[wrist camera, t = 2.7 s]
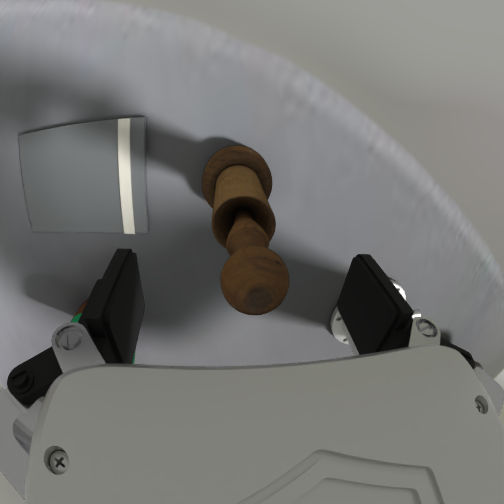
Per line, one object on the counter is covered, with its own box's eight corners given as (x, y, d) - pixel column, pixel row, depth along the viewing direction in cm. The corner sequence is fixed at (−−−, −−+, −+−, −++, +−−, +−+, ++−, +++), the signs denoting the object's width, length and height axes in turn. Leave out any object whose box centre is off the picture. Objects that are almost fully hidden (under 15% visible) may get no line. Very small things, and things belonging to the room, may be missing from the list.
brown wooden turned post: (200, 148, 24) (161, 233, 9) (268, 143, 25) (346, 219, 9) (206, 211, 28) (193, 356, 12) (269, 206, 28) (324, 343, 13)
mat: (146, 116, 22) (143, 117, 21) (149, 230, 28) (147, 234, 27) (22, 134, 20) (17, 136, 19) (35, 229, 26) (31, 232, 25)
